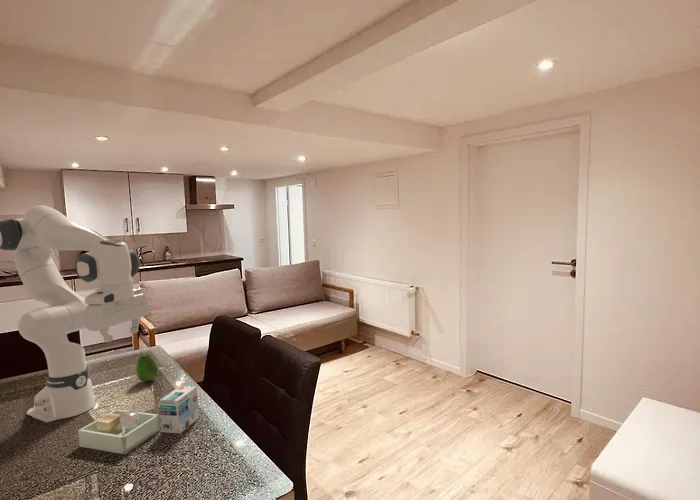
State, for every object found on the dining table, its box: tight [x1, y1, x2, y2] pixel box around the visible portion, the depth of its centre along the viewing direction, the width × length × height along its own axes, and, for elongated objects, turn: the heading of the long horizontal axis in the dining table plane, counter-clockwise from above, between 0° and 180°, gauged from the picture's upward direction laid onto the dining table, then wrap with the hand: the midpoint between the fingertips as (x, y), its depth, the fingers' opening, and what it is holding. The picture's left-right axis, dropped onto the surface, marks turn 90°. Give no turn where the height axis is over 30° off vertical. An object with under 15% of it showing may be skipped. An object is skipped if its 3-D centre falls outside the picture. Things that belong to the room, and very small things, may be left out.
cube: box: [95, 412, 121, 435], centre depth 125 cm, size 5×5×5 cm
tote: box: [77, 408, 162, 455], centre depth 124 cm, size 18×14×5 cm
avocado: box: [135, 353, 159, 383], centre depth 168 cm, size 8×8×12 cm
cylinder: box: [120, 409, 139, 436], centre depth 122 cm, size 5×5×7 cm
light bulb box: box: [159, 385, 200, 434], centre depth 130 cm, size 11×7×11 cm, turn 168°
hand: (122, 337), depth 124 cm, fingers open, 8 cm apart
